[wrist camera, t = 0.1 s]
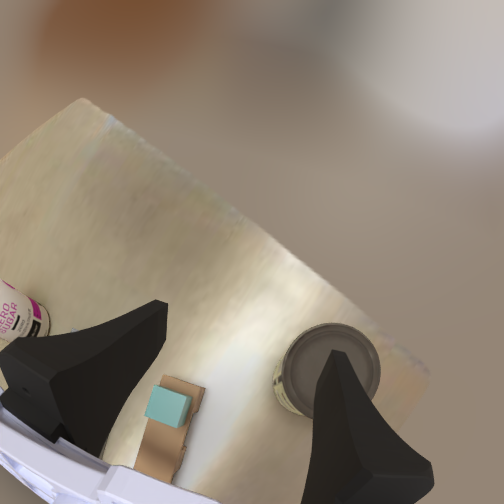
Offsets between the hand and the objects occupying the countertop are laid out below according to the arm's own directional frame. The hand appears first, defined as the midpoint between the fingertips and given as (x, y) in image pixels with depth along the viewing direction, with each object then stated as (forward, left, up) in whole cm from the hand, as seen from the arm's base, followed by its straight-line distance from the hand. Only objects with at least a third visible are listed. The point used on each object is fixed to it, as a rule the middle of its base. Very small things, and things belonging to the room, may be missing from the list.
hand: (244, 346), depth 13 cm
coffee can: (+2, -8, -32) cm, 33 cm away
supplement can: (-5, +37, -32) cm, 49 cm away
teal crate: (-6, +8, -27) cm, 29 cm away
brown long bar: (-14, +8, -32) cm, 36 cm away
